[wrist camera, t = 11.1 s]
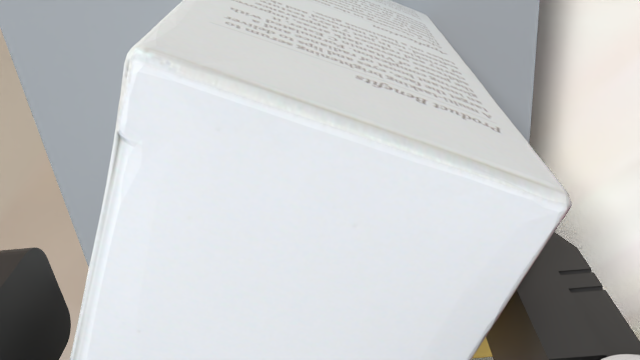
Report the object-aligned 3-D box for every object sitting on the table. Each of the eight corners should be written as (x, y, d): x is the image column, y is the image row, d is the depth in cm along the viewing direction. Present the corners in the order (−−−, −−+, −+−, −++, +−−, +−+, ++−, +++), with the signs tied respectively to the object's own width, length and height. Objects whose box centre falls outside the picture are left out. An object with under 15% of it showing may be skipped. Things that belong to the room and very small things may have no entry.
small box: (332, 237, 20) (348, 567, 10) (170, 188, 19) (27, 503, 9) (434, 10, 16) (595, 206, 7) (240, -64, 15) (120, 45, 6)
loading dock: (-2, -185, 17) (-126, -205, 12) (507, -250, 17) (587, -299, 12) (148, 290, 26) (109, 388, 21) (488, 259, 25) (529, 353, 20)
